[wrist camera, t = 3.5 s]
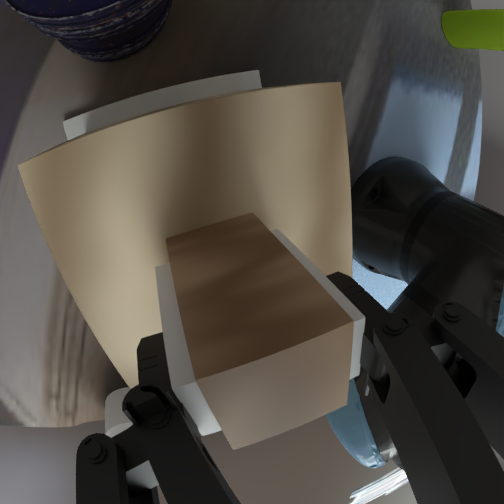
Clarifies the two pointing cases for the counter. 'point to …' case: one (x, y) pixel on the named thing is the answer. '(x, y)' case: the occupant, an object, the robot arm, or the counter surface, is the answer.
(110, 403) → the cylinder with rectangular tab
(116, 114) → the grey mat
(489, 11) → the soap dispenser
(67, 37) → the storage jar
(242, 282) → the wooden cover
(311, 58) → the counter surface
